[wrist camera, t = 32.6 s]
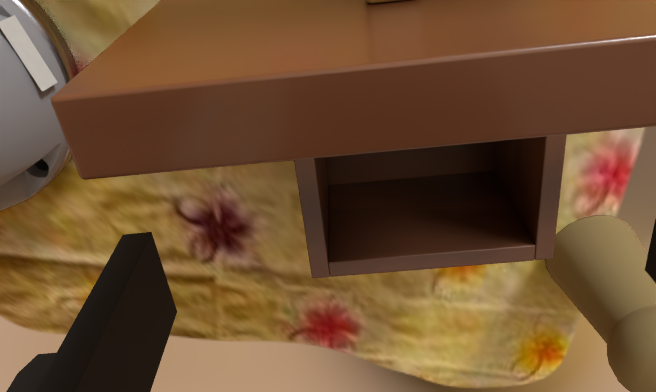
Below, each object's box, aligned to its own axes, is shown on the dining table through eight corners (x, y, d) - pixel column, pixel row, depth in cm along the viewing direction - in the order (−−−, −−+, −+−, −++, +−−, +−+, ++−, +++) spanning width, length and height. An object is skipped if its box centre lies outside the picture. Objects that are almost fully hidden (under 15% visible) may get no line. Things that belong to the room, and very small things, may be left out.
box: (504, 175, 35) (553, 259, 27) (316, 191, 35) (311, 278, 28) (519, -113, 27) (595, -111, 19) (279, -84, 28) (259, -71, 20)
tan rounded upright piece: (629, 202, 36) (739, 320, 26) (643, 272, 38) (747, 401, 29) (536, 234, 37) (607, 357, 27) (556, 299, 40) (627, 432, 30)
